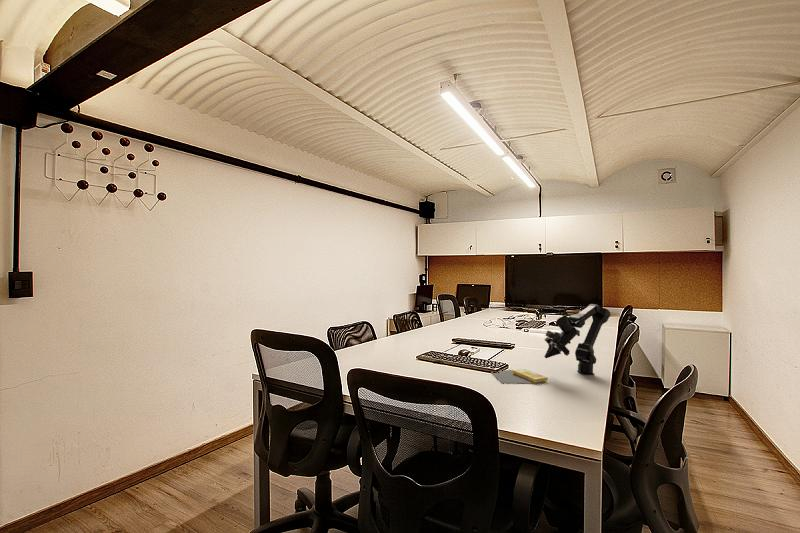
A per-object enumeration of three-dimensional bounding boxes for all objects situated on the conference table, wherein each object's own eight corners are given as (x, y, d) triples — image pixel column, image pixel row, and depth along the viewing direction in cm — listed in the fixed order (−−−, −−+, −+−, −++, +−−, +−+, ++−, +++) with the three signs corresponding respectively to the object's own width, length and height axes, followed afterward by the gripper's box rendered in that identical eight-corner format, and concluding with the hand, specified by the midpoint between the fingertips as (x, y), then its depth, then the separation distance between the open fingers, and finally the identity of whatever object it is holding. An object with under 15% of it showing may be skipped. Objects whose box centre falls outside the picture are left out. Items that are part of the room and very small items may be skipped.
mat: (525, 371, 211) (525, 370, 211) (541, 383, 189) (541, 382, 189) (489, 370, 211) (489, 370, 211) (501, 383, 189) (501, 382, 189)
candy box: (524, 372, 207) (512, 373, 204) (524, 368, 207) (512, 369, 204) (547, 381, 193) (534, 382, 189) (547, 377, 193) (534, 378, 189)
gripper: (548, 322, 210) (527, 342, 210) (563, 328, 191) (541, 350, 191) (562, 336, 210) (542, 357, 210) (579, 344, 192) (556, 366, 192)
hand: (545, 357), depth 201 cm, fingers closed
